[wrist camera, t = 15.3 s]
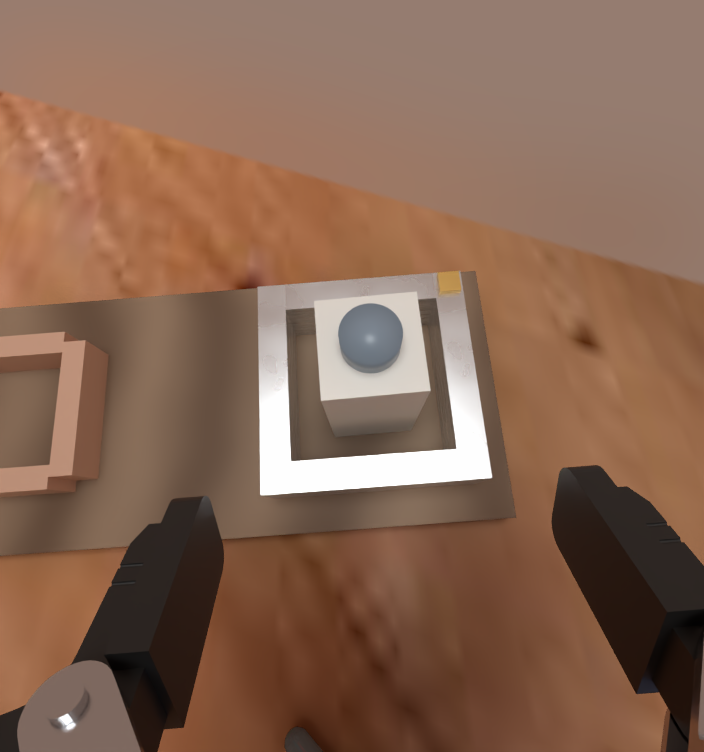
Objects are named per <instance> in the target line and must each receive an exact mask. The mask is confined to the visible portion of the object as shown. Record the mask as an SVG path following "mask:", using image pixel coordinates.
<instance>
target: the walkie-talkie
mask: <svg viewBox="0 0 704 752" xmlns="http://www.w3.org/2000/svg"><path fill="white" fill-rule="evenodd" d="M285 749H286V752H323V751H322V750H321V748H320V747H319V746H318V745H317V743H316V742H315V741H314V740H313V739H312V737H311V736H310V735H309V734H308V732H307V731H306V730H305V729H303V728H301V727H295V728H293V729H291V730H290V731H289V732H288V734H287V736H286V738H285Z"/></svg>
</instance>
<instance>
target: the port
mask: <svg viewBox="0 0 704 752" xmlns="http://www.w3.org/2000/svg"><path fill="white" fill-rule="evenodd" d="M416 291H417V297H418V304H419V311H420V318H421V326H426V325H428V332H429V340H430V348H431V355H432V363H433V371H434V379H435V387H436V395H437V402H438V410H439V418H440V426H441V434H442V442H443V449H444V450H437V451H424V452H411V453H398V454H384V455H371V456H358V457H345V458H331V459H318V460H305V461H301V457H300V431H299V406H298V380H297V355H296V336H297V335H310V334H316V323H315V308H314V301H319V300H330V299H341V298H351V297H362V296H373V295H384V294H395V293H406V292H416ZM258 349H259V419H260V489H261V496H266V497H270V498H275V499H277V498H290V497H303V496H317V495H330V494H343V493H357V492H370V491H383V490H397V489H410V488H423V487H437V486H450V485H463V484H476V483H479V482H482V481H485V480H488V479H491V478H492V472H491V466H490V459H489V453H488V447H487V440H486V434H485V427H484V421H483V414H482V408H481V401H480V395H479V388H478V382H477V376H476V369H475V363H474V356H473V350H472V343H471V337H470V330H469V324H468V318H467V311H466V305H465V298H464V292H463V285H462V279H461V272H460V271H450V272H438V273H428V274H415V275H402V276H390V277H377V278H364V279H352V280H339V281H326V282H314V283H301V284H288V285H276V286H263V287H258Z"/></svg>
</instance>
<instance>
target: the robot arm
mask: <svg viewBox="0 0 704 752" xmlns="http://www.w3.org/2000/svg"><path fill="white" fill-rule="evenodd" d="M552 530H553V534H554V538H555V541H556V544H557V546H558V548H559V550H560V552H561V553H562V555H563V557H564V559H565V561H566V563H567V565H568V567H569V568H570V570H571V572H572V574H573V576H574V578H575V580H576V582H577V583H578V585H579V587H580V589H581V591H582V593H583V595H584V597H585V598H586V600H587V602H588V604H589V606H590V608H591V610H592V612H593V614H594V615H595V617H596V619H597V621H598V623H599V625H600V627H601V629H602V630H603V632H604V634H605V636H606V638H607V640H608V642H609V644H610V645H611V647H612V649H613V651H614V653H615V655H616V657H617V659H618V660H619V662H620V664H621V666H622V668H623V670H624V672H625V674H626V675H627V677H628V679H629V681H630V683H631V685H632V687H633V689H634V690H635V692H636V694H643V693H656V692H659V693H660V695H661V696H662V698H663V700H664V701H665V703H666V705H667V707H668V709H667V711H666V714H665V719H664V727H663V735H662V744H661V752H704V566H703V565H702V563H701V562H700V561H699V560H698V559H697V557H696V556H695V555H694V554H693V553H692V551H691V550H690V549H689V548H688V547H687V545H686V544H685V543H684V542H683V543H682V542H681V540H680V537H679V536H678V535H677V534H676V532H675V531H674V530H673V529H672V528H671V526H668V525H667V522H666V520H665V519H664V518H663V517H662V516H661V515H660V513H659V512H658V511H657V510H656V509H655V507H654V506H653V505H652V504H651V503H650V502H649V501H648V500H646V499H645V498H643V497H642V496H640V495H639V494H637V493H636V492H634V491H633V490H631V489H630V488H628V487H617V486H616V485H615V483H614V482H613V481H612V480H611V478H610V477H609V476H608V475H607V473H606V472H605V471H604V470H603V469H602V468H601V467H600V466H598V465H593V466H581V467H568V468H563V469H562V470H561V471H560V474H559V478H558V484H557V490H556V496H555V502H554V508H553V513H552ZM223 563H224V550H223V543H222V539H221V536H220V532H219V529H218V525H217V522H216V518H215V515H214V511H213V508H212V504H211V501H210V499H209V497H208V496H197V497H184V498H174V499H172V500H171V502H170V503H169V505H168V508H167V510H166V512H165V515H164V517H163V519H162V522H161V523H155V524H148V525H147V526H146V527H145V529H144V530H143V531H142V532H141V533H140V534H139V535H138V536H137V537H136V538H135V539H134V540H133V541H132V542H131V543H130V545H129V548H128V550H127V552H126V554H125V556H124V558H123V560H122V562H121V564H120V565H121V567H120V569H118V570H117V572H116V574H115V576H114V579H113V581H112V586H111V587H109V589H108V591H107V593H106V595H105V597H104V599H103V601H102V603H101V605H100V607H99V610H98V612H97V614H96V616H95V618H94V620H93V622H92V624H91V626H90V628H89V630H88V632H87V634H86V636H85V638H84V641H83V643H82V645H81V647H80V649H79V651H78V653H77V655H76V657H75V659H74V660H73V662H72V664H71V665H70V666H67V667H65V668H64V669H62V670H60V671H58V672H57V673H55V674H54V675H53V676H51V677H50V678H49V679H48V680H46V681H45V682H44V683H43V684H42V685H41V686H40V687H39V688H38V689H37V690H36V692H35V693H34V694H33V695H32V697H31V698H30V699H29V701H28V702H27V704H26V705H25V706H22V707H20V708H18V709H16V710H13V711H11V712H8V713H6V714H3V715H0V752H157V751H158V748H159V744H160V741H161V737H162V733H163V730H164V729H173V728H184V724H185V720H186V716H187V712H188V708H189V704H190V700H191V696H192V692H193V688H194V684H195V680H196V676H197V672H198V668H199V664H200V660H201V656H202V652H203V647H204V643H205V639H206V635H207V631H208V627H209V623H210V619H211V615H212V611H213V607H214V603H215V599H216V595H217V591H218V587H219V583H220V579H221V575H222V570H223Z"/></svg>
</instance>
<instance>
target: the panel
mask: <svg viewBox="0 0 704 752" xmlns="http://www.w3.org/2000/svg"><path fill="white" fill-rule="evenodd" d="M461 279H462V285H463V292H464V298H465V305H466V311H467V318H468V324H469V330H470V337H471V343H472V350H473V356H474V363H475V369H476V376H477V382H478V388H479V395H480V401H481V408H482V414H483V421H484V427H485V434H486V440H487V447H488V453H489V459H490V466H491V472H492V478H491V479H488V480H485V481H482V482H479V483H476V484H463V485H450V486H437V487H423V488H410V489H397V490H383V491H370V492H357V493H343V494H330V495H317V496H303V497H290V498H277V499H275V498H270V497H266V496H261V489H260V419H259V349H258V288H255V289H242V290H229V291H217V292H204V293H191V294H179V295H166V296H153V297H140V298H128V299H115V300H102V301H90V302H77V303H64V304H52V305H39V306H26V307H14V308H1V309H0V337H3V336H16V335H29V334H41V333H54V332H66V333H68V334H69V335H71V336H73V337H74V338H76V339H77V340H79V341H82V340H86V341H88V342H89V343H91V344H92V345H94V346H95V347H97V348H99V349H100V350H102V351H103V352H105V353H106V354H108V355H109V357H108V369H107V381H106V393H105V405H104V417H103V429H102V441H101V453H100V465H99V476H98V479H92V480H79V481H76V491H75V492H68V493H54V494H41V495H28V496H15V497H1V498H0V556H4V555H18V554H31V553H44V552H58V551H71V550H85V549H98V548H112V547H125V546H129V545H130V543H131V542H132V541H133V540H134V539H135V538H136V537H137V536H138V535H139V534H140V533H141V532H142V531H143V530H144V529H145V527H146V526H147V525H148V524H155V523H161V522H162V519H163V517H164V515H165V512H166V510H167V508H168V505H169V503H170V502H171V500H172V499H174V498H184V497H197V496H208V497H209V499H210V501H211V504H212V508H213V511H214V515H215V518H216V522H217V525H218V529H219V532H220V536H221V539H233V538H246V537H260V536H273V535H287V534H300V533H314V532H327V531H341V530H354V529H368V528H381V527H394V526H408V525H421V524H435V523H448V522H462V521H475V520H489V519H502V518H516V513H515V507H514V501H513V495H512V489H511V483H510V477H509V471H508V465H507V459H506V453H505V447H504V441H503V435H502V429H501V423H500V417H499V411H498V405H497V398H496V392H495V386H494V380H493V374H492V368H491V362H490V356H489V350H488V344H487V338H486V332H485V326H484V320H483V314H482V308H481V302H480V296H479V290H478V284H477V278H476V272H475V271H470V272H461ZM422 333H423V340H424V347H425V354H426V361H427V368H428V376H429V383H430V390H431V391H430V393H429V395H428V397H427V399H426V401H425V403H424V405H423V407H422V409H421V411H420V413H419V415H418V417H417V419H416V421H415V423H414V425H413V427H412V429H411V430H409V431H398V432H387V433H376V434H365V435H354V436H343V437H335V436H334V433H333V430H332V428H331V425H330V423H329V420H328V418H327V415H326V413H325V410H324V407H323V405H322V402H321V395H320V381H319V366H318V352H317V337H316V334H310V335H297V336H296V355H297V380H298V406H299V431H300V457H301V461H305V460H318V459H331V458H345V457H358V456H371V455H384V454H398V453H411V452H424V451H437V450H444V449H443V442H442V434H441V426H440V418H439V410H438V402H437V395H436V387H435V379H434V371H433V363H432V355H431V348H430V340H429V332H428V325H426V326H422ZM59 377H60V368H57V369H44V370H31V371H18V372H6V373H0V468H13V467H27V466H40V465H49V464H50V456H51V447H52V438H53V430H54V421H55V412H56V403H57V395H58V386H59Z"/></svg>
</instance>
